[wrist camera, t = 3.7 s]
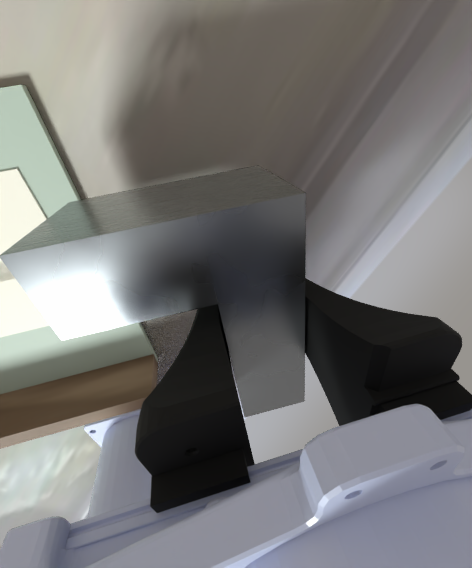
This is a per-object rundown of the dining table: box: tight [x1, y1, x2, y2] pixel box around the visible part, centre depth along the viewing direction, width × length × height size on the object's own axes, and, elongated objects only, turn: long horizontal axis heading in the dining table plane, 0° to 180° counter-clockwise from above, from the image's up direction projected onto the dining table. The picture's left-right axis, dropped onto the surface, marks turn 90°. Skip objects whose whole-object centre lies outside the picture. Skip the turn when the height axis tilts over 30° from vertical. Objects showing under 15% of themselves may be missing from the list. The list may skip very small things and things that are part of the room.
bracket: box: [0, 165, 306, 417], centre depth 12 cm, size 10×8×5 cm
